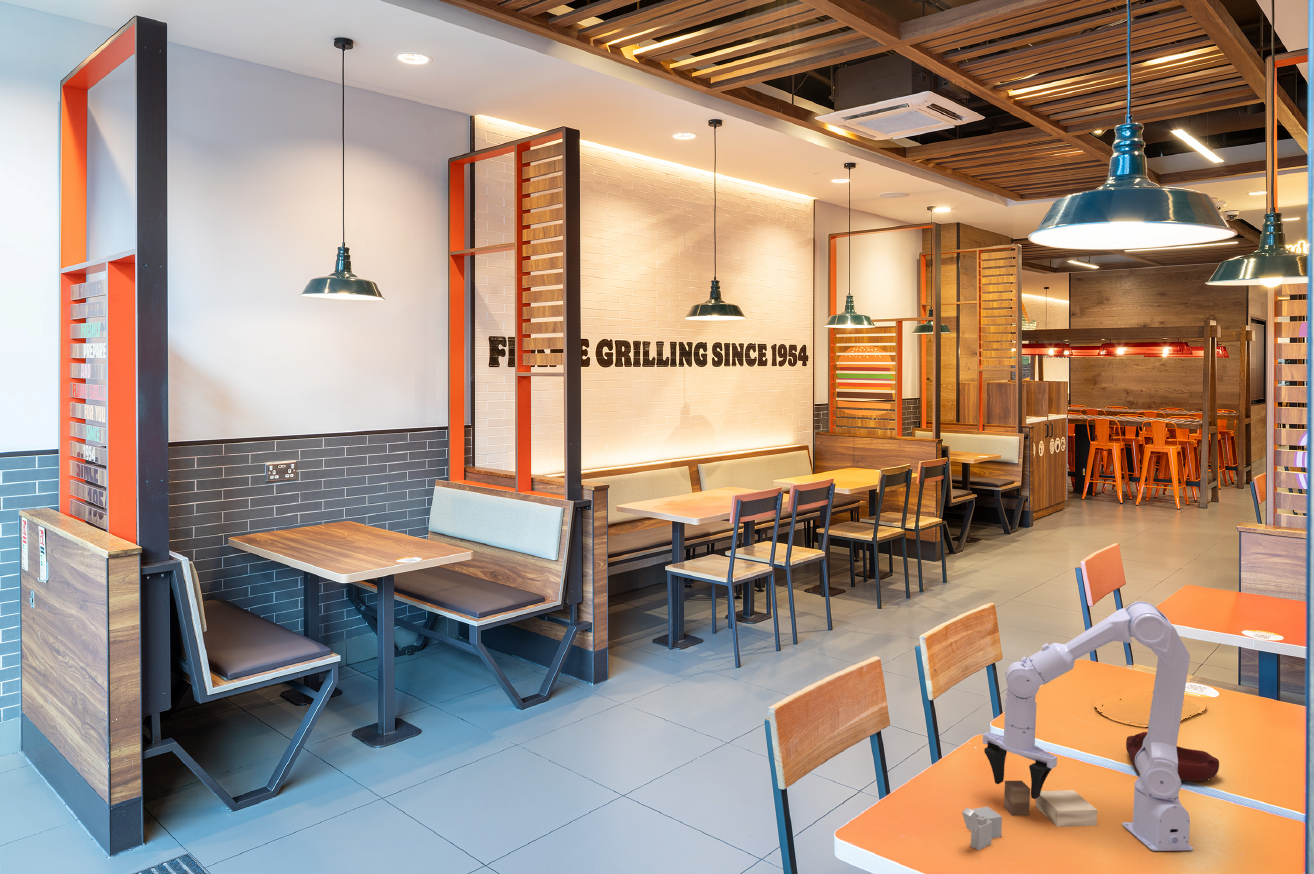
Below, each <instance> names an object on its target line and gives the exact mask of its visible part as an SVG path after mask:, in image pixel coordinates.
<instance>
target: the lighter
mask: <svg viewBox="0 0 1314 874" xmlns="http://www.w3.org/2000/svg"><path fill="white" fill-rule="evenodd" d="M971 809H972V808H969V807H967V806H966V807H965V809H964V810H963V811H962V812H961V814H962V817H963V820H964V824H965V827H966V828H967V830H969V831H970V833H971V834H970V847H971V848H973V849H974V850H976V851H980V850H982V849H984V848H986V847H988V846H990V845H992V839H991V834H992V821H990V820H988V819H987V817H986V816H979V817H977V819H976V815H975V812H974V811H973V810H971Z"/></svg>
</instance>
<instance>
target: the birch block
mask: <svg viewBox="0 0 1314 874" xmlns="http://www.w3.org/2000/svg"><path fill="white" fill-rule="evenodd" d="M1035 808H1036V809H1038V810H1039V811H1040V812H1041V813H1042V815H1044V816H1045V817H1046V818H1047V819H1048V820H1049V821H1050V822H1052V824H1054V825H1055V827H1056V828H1060V827H1064V828H1065V827H1091V826H1097V824H1098V823H1097V821H1098V820H1097V819H1098V809H1096V807H1094V806H1093V805H1092V804H1091V803H1090V802H1088V801H1087V800H1086V799H1085V798H1084V797H1083V796H1082V795H1080V794H1079V793H1078V792H1077V791H1076V790H1074V789H1070V790H1069V789H1067V790H1065V789H1063V790H1061V789H1060V790H1041V793H1040V797H1038V798H1036V799H1035Z"/></svg>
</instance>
